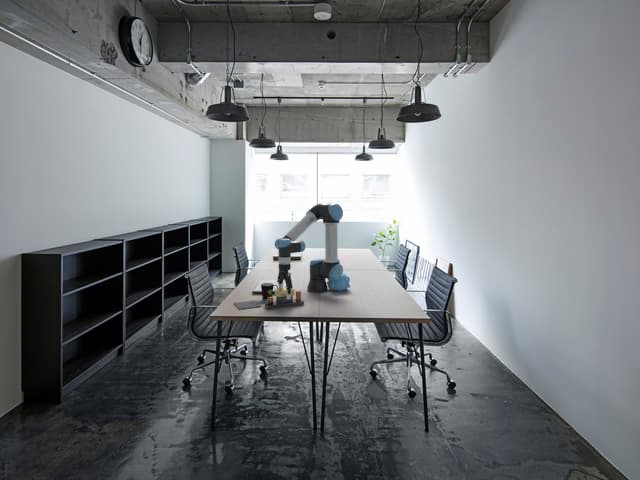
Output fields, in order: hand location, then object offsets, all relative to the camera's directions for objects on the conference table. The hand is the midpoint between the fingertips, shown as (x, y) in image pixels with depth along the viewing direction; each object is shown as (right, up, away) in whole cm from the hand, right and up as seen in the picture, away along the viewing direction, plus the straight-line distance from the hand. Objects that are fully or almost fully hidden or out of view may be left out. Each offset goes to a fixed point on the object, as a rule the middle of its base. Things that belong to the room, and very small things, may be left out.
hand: (284, 296), depth 239 cm
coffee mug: (-12, -4, +17) cm, 21 cm away
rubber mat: (-24, -6, +1) cm, 24 cm away
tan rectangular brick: (0, +1, 0) cm, 1 cm away
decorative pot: (+36, -2, +44) cm, 57 cm away
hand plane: (0, -6, +1) cm, 6 cm away
